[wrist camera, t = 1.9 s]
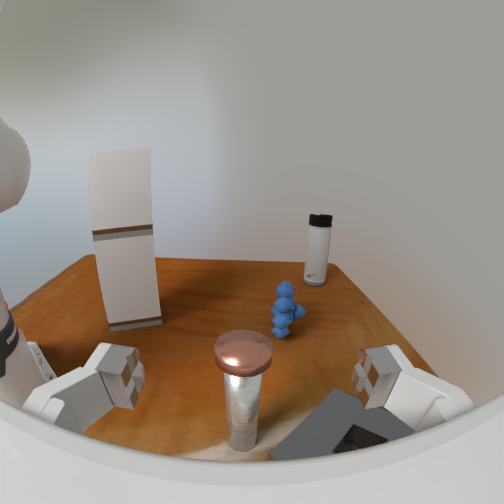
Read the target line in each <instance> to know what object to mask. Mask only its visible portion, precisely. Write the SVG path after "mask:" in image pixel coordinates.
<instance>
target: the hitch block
mask: <svg viewBox="0 0 504 504" xmlns="http://www.w3.org/2000/svg"><path fill="white" fill-rule="evenodd" d="M414 432H415V430H414V429H412V428H411V427H410V426H408V425H407V424H406V423H404V422H403V421H402V420H400V419H399V418H398V417H396V416H395V415H394V414H393V413H391V412H388V411H386V410H384V409H381V408H379V407H375V408H369V409H364V407H363V405H362V403H361V400H360V399H358V398H356V397H354V396H352V395H350V394H348V393H345V392H343V391H341V390H339V389H337V388H334V389H333V390H332V391H331V392H330V393H329V395H328V396H327V397H326V398H325V399H324V400H323V401H322V402H321V403H320V404H319V405H318V406H317V407H316V408H315V409H314V411H313V412H312V413H311V414H310V415H309V416H308V417H307V418H306V419H305V420H304V421H303V422H302V423H301V424H300V425H299V426H298V427H296V428H295V429H294V430H293V431H292V432H291V433H290V434H289V435H288V436H287V437H286V438H285V439H284V440H283V441H281V442H280V443H279V444H278V445H277V446H276V447H275V448H274V449H272V450H271V451H270V452H269V454H268V460H267V461H279V460H293V459H303V458H312V457H319V456H326V455H332V454H335V452H336V451H337V449H338V448H339V447H340V446H341V444H342V443H343V442H344V440H346V441H348V442H350V443H352V444H354V445H356V446H359V447H361V448H367V447H371V446H375V445H379V444H383V443H387V442H390V441H394V440H397V439H400V438H404V437H407V436H410V435H413V433H414Z"/></svg>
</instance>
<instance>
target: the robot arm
mask: <svg viewBox="0 0 504 504" xmlns="http://www.w3.org/2000/svg"><path fill="white" fill-rule="evenodd" d="M3 4H4V0H0V14H1V11H2V7H3ZM30 166H31V165H30V156H29V151H28V148H27V145H26V143H25V141H24V140H23V138H22V137H21V136H20V134H19V133H18V132H17V131H15V130H13V129H12V128H10V127H9V126H8V125H7V124H6V123H5V122H4V121H3V120H2V119H1V118H0V213H1V212H3V211H5V210H7V209H9V208H11V207H13V206H15V205H17V204H18V203H19V201H20V200H21V198H22V196H23V195H24V192H25V190H26V187H27V185H28V181H29V176H30ZM140 357H141V355H140V352H139V349H137V348H135V347H128V346H122V345H116V344H109V343H103V342H102V343H100V344H99V345H98V347H97V348H96V349H95V351H94V352H93V354H92V355H91V357H90V358H89V360H88V361H87V363H86V364H85V366H84V367H79V368H77V369H75V370H73V371H71V372H69V373H66V374H64V375H62V376H60V377H57V376H56V374H55V373H54V371H53V370H52V368H51V367H50V365H49V363H48V362H47V360H46V359H45V357H44V355H43V353H42V352H41V350H40V348H39V347H38V345H37V343H35V342H27V341H26V339H25V336H24V334H23V331H22V330H21V329H19V328H17V326H16V322H15V320H14V318H13V316H12V315H11V313H10V311H9V309H8V305H7V303H6V302H5V301H4V298H3V294H2V291H1V287H0V504H504V392H503V393H502V394H500V395H499V396H497V397H495V398H493V399H492V400H490V401H488V402H486V403H484V404H482V405H481V406H479V407H477V408H476V407H475V405H474V404H473V403H472V401H471V400H470V399H469V397H468V396H467V395H466V393H465V392H464V391H463V390H462V389H461V388H459V387H457V386H455V385H452V384H450V383H448V382H446V381H444V380H442V379H440V378H438V377H435V376H433V375H431V374H429V373H427V372H425V371H423V370H421V369H419V368H414V367H413V366H412V364H411V363H410V362H409V360H408V359H407V357H406V356H405V355H404V353H403V352H402V351H401V349H400V348H399V347H398V346H397V345H396V344H393V345H387V346H383V347H375V348H367V349H361V350H360V352H359V354H358V357H357V358H358V360H359V363H358V364H356V365H355V366H354V370H353V384H354V387H355V389H356V390H358V391H359V392H361V393H360V396H359V398H360V400H361V403H362V405H363V407H364V409H369V408H375V407H380V406H384V407H385V408H386V409H387V410H389V411H390V412H391V413H393V414H394V415H395V416H396V417H398V418H399V419H400V420H402V421H403V422H404V423H406V424H407V425H408V426H410V427H411V428H412V429H414V430H415V432H414V433H413V435H410V436H407V437H404V438H400V439H397V440H394V441H390V442H387V443H383V444H379V445H375V446H371V447H367V448H363V449H359V450H354V451H349V452H344V453H338V454H332V455H326V456H319V457H312V458H303V459H293V460H279V461H250V462H243V461H214V460H200V459H190V458H181V457H174V456H167V455H161V454H155V453H149V452H144V451H139V450H135V449H130V448H126V447H122V446H118V445H114V444H110V443H106V442H103V441H99V440H96V439H93V438H90V437H87V436H85V434H84V433H83V431H84V430H85V429H87V428H88V427H89V426H90V425H92V424H93V423H94V422H96V421H97V420H98V419H99V418H101V417H102V416H103V415H104V414H106V413H107V412H108V411H109V410H111V409H112V408H113V407H114V406H116V407H122V408H128V409H135V406H136V403H137V401H138V398H139V396H138V393H137V392H138V391H139V390H141V389H142V388H143V385H144V380H145V371H144V367H143V365H142V364H141V363H140V362H139V359H140Z"/></svg>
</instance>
